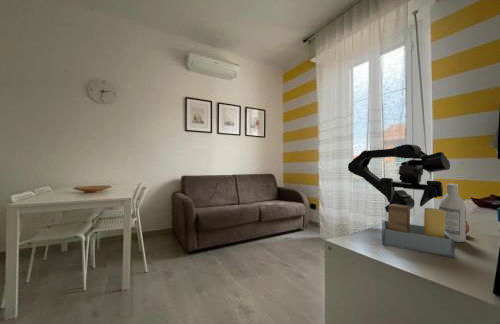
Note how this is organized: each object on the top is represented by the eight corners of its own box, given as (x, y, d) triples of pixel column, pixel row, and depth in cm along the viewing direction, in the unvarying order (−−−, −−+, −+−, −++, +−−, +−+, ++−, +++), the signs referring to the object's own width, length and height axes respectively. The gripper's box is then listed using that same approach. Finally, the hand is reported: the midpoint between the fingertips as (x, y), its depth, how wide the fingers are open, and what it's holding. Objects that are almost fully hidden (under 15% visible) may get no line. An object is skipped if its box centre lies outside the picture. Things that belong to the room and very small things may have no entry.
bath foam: (450, 235, 79) (450, 183, 79) (471, 242, 72) (472, 185, 72) (433, 235, 79) (434, 183, 79) (453, 242, 72) (454, 185, 72)
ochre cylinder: (435, 251, 63) (436, 211, 63) (419, 244, 68) (420, 208, 68) (449, 250, 64) (450, 211, 63) (432, 244, 68) (433, 208, 68)
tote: (382, 244, 69) (382, 229, 69) (381, 232, 81) (382, 220, 81) (454, 257, 60) (454, 240, 60) (442, 242, 72) (442, 228, 72)
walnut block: (392, 236, 75) (393, 203, 75) (409, 241, 71) (410, 206, 71) (387, 240, 71) (388, 205, 71) (405, 244, 68) (406, 208, 68)
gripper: (381, 158, 86) (370, 186, 79) (442, 158, 72) (436, 192, 65) (387, 176, 91) (378, 204, 84) (445, 179, 77) (439, 213, 70)
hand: (404, 203), depth 75 cm, fingers open, 9 cm apart
